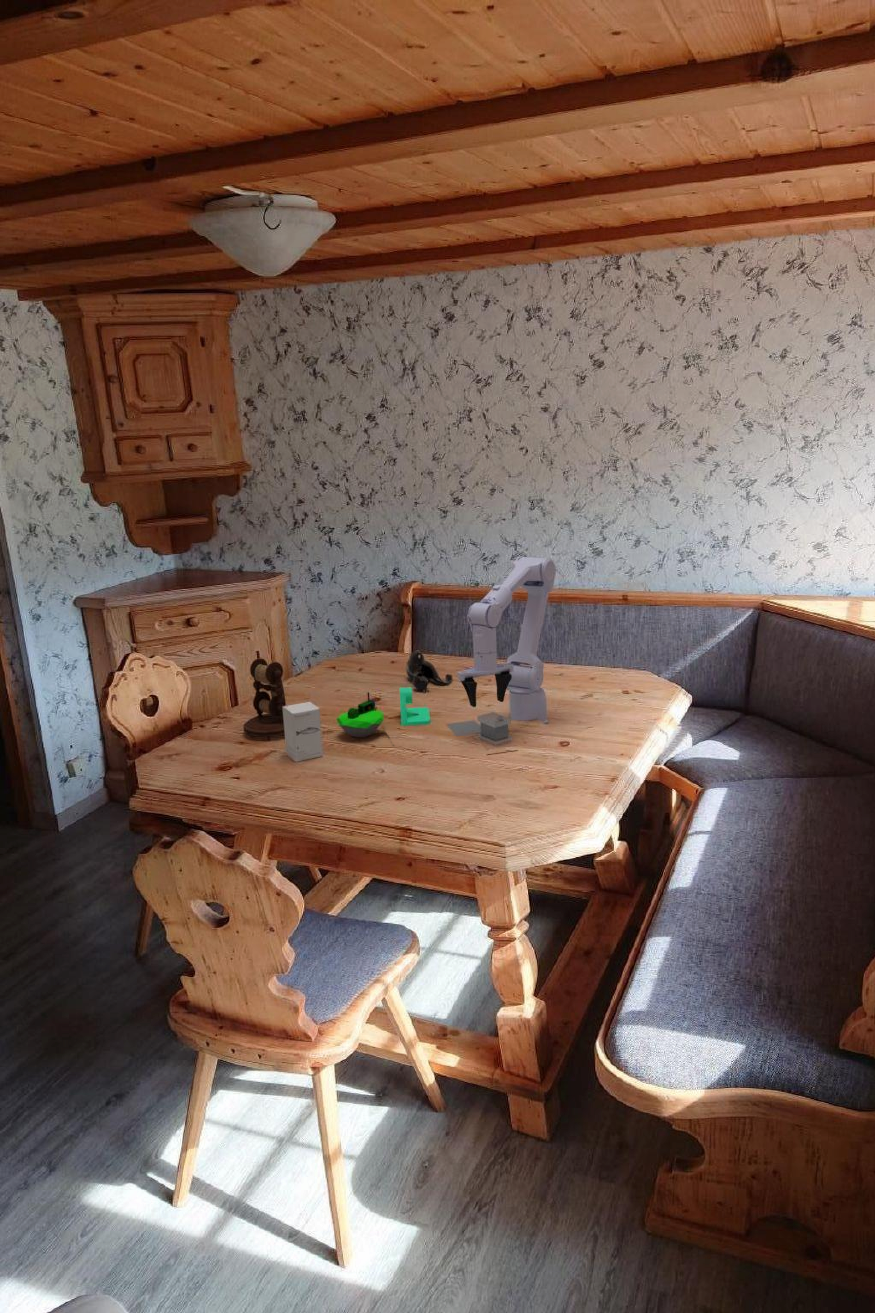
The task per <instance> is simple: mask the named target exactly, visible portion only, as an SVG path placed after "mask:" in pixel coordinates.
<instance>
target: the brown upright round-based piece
mask: <svg viewBox="0 0 875 1313" xmlns="http://www.w3.org/2000/svg"><path fill="white" fill-rule="evenodd" d="M249 670H250V671H249V672H250V675H251V676H252V678H253V680H254V681H253V683H252V687H253V688H254V690H255V695H254V696H253V697H254V698H253V699H252V705H253V709H254V710H255V711H256V714H257V715H256V716H253V717H251V718H249V719H248V720H247V721H246V722H245V723H244V724H243V727H242V728H243V732H244V733H245V734H247V735H250V736H254V737H255V736H256V737H266V738H265V739H266V740H267V741H268V742H270V740H271V737H272V736H273V737H274V736H280V735H285V731H284V720H283V708H282V707H283V706H287V703H286V694H285V690H284V689H285V688H284V684H283V680H282V677H283V675H284V668H283V665H282V664H281V663H280V662H278V661H272V662H271V663H269V664H268V662H267V661H266V660H265V658H261V657H259V658H256V659H254V660H253V661H252V663H251V664H250V668H249ZM260 690H265V691H260ZM268 692H270V694H269V693H268ZM264 713H265V714H264Z"/></svg>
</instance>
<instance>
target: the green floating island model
mask: <svg viewBox="0 0 875 1313" xmlns="http://www.w3.org/2000/svg"><path fill="white" fill-rule="evenodd" d="M377 709H378V707H377V706H376V702H375V700H374V699H370V692H369V691H368V692H367V700H365V701H363V702H361V703H358V704H357V708H356V707H350V708H348V710H347V712H344V713H341V714H340V715H339V716H338V717H337V718H336V721H337V723H338V725H339V727H340V728H341V729H342V730H344V732H345V733H346V734H347V735H348V736H351V737H355V738H359V739H363V738H365V737H366V738H367V737H368V736H371V735H373V734H374V733H375V732H376V731H377V729H378V728H379V727H380V726H381V724H382V723H383V721H384V713H383V712H382V711H380V710H379V709H378V710H377Z"/></svg>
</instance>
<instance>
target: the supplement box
mask: <svg viewBox="0 0 875 1313" xmlns="http://www.w3.org/2000/svg"><path fill="white" fill-rule="evenodd" d="M282 708H283V720H284V731H285V734H284V743H285V753H286V755H287V756H289V757H290V759H292V760H293V761H294V762H295V763H298V762H300V761H306V760H311V759H314V758H316V759H317V758H322V757H323V756H324V750H323V739H322V738H323V737H322V726H321V724H322V723H321V722H322V721H321V711H320V710H321V709H320V707H318V706H317V705H315V704H314V703H313V702H311V701H305V702H301V703H294V704H289V705H286V706H283V707H282ZM321 756H322V757H321Z"/></svg>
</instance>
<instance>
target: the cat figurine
mask: <svg viewBox="0 0 875 1313" xmlns="http://www.w3.org/2000/svg"><path fill="white" fill-rule="evenodd" d="M405 673H406V676H407V678H408V679H409V681H411V682H412V683H411V684H412V686H413V687H414V688H415V689H416V690H418V691H422V693H423V694H426V693H427V689H428V686H429V684H430V682H433V683H435V684H438V685H441V686H446V687H447V686H449V685H450V684H451V683H452V680H453V675H452V674H448V673H447V674H445V680H446V681H444V680H442V679H441V678H442V677H440V675H439V673H438V671H437V669H436V668H435V666H434V665H433V664H432V663H431V662H430V661H428V660H426V659H425V656H424V654H423V653H422V652H421V651H420V650H419V649H416V650H413V651H412V652H411V653H410V655H409V658H408V659H407V661H406V667H405ZM429 680H430V681H429Z"/></svg>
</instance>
